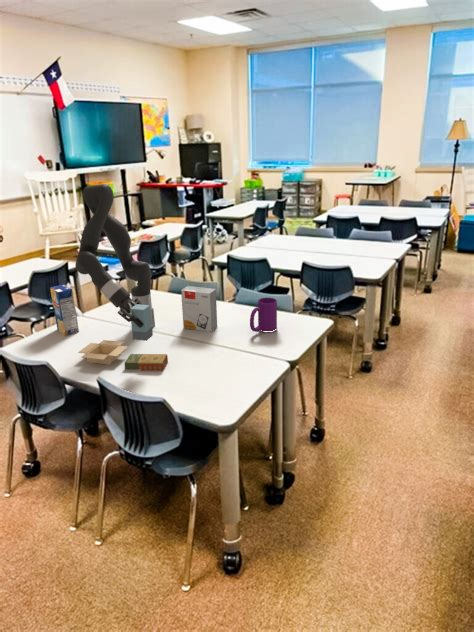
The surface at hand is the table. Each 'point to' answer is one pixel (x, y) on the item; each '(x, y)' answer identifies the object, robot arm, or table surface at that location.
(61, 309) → the beverage box
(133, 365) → the carton
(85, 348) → the kraft carton
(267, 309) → the mug
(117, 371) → the table surface
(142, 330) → the slate box
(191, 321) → the hard drive box
